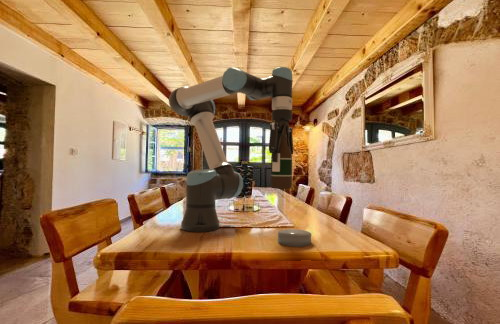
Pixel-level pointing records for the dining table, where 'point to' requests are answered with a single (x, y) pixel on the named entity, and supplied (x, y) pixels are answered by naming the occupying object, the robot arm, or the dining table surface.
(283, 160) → the beer bottle
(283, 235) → the slate pedestal
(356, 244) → the dining table surface
